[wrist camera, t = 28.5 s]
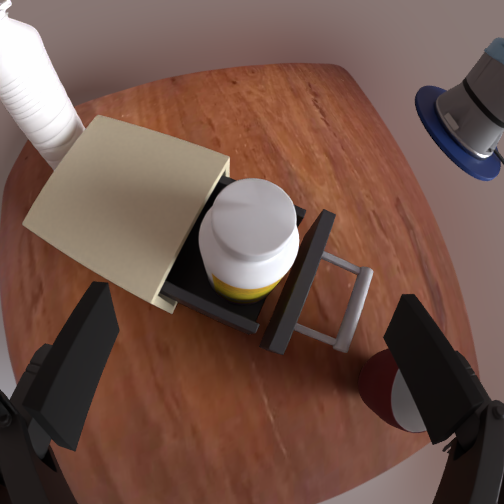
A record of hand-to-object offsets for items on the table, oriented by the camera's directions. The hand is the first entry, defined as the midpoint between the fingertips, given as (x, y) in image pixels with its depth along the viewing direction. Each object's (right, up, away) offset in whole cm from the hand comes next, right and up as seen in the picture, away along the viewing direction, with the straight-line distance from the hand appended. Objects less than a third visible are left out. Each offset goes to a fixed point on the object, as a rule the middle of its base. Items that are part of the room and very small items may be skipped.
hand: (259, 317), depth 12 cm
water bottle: (-24, +16, +21) cm, 36 cm away
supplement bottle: (-1, +1, +16) cm, 16 cm away
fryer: (-13, +6, +18) cm, 23 cm away
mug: (+14, -10, +16) cm, 24 cm away
